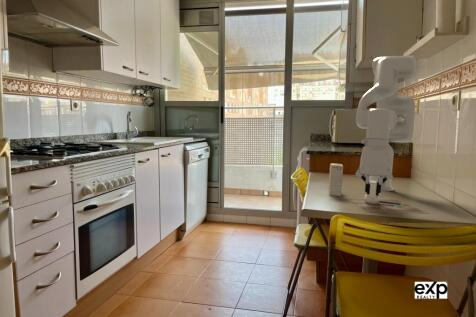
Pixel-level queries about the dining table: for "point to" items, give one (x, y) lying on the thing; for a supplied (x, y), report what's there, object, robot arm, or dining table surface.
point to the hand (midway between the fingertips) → (372, 194)
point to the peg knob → (375, 196)
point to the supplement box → (335, 179)
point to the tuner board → (385, 206)
